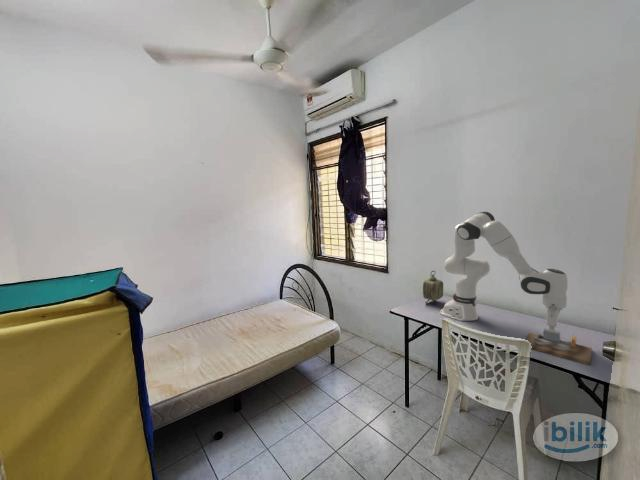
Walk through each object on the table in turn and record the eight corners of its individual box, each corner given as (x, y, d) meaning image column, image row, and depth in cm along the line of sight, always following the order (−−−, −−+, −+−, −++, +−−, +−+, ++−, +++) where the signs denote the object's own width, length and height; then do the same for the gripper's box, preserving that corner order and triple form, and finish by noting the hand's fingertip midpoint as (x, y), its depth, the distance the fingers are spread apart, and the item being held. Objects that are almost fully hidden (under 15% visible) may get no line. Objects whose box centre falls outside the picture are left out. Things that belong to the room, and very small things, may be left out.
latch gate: (571, 346, 129) (571, 339, 128) (572, 342, 133) (572, 334, 132) (574, 347, 128) (575, 340, 127) (575, 342, 132) (576, 335, 132)
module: (543, 343, 133) (543, 330, 132) (543, 341, 135) (544, 328, 134) (558, 347, 129) (559, 334, 128) (559, 345, 131) (560, 331, 130)
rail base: (522, 346, 134) (523, 339, 134) (529, 335, 145) (529, 328, 144) (590, 365, 117) (590, 356, 116) (591, 350, 127) (592, 343, 127)
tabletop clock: (432, 299, 208) (432, 268, 205) (444, 302, 201) (444, 269, 198) (423, 304, 199) (422, 271, 196) (434, 307, 192) (434, 273, 189)
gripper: (561, 309, 121) (559, 338, 123) (564, 297, 135) (562, 322, 137) (543, 306, 125) (541, 334, 127) (548, 294, 139) (546, 319, 141)
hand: (552, 328), depth 132 cm, fingers open, 8 cm apart
